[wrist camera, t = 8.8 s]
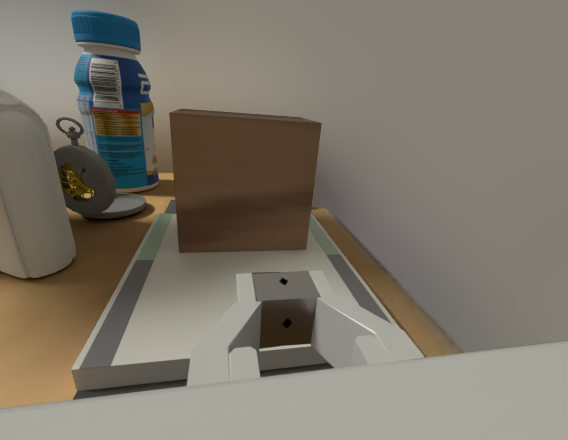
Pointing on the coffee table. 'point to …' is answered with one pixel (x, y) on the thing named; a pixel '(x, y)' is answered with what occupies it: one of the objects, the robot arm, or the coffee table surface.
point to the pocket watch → (91, 181)
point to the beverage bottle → (115, 98)
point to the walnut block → (242, 180)
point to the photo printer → (30, 196)
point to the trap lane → (196, 310)
